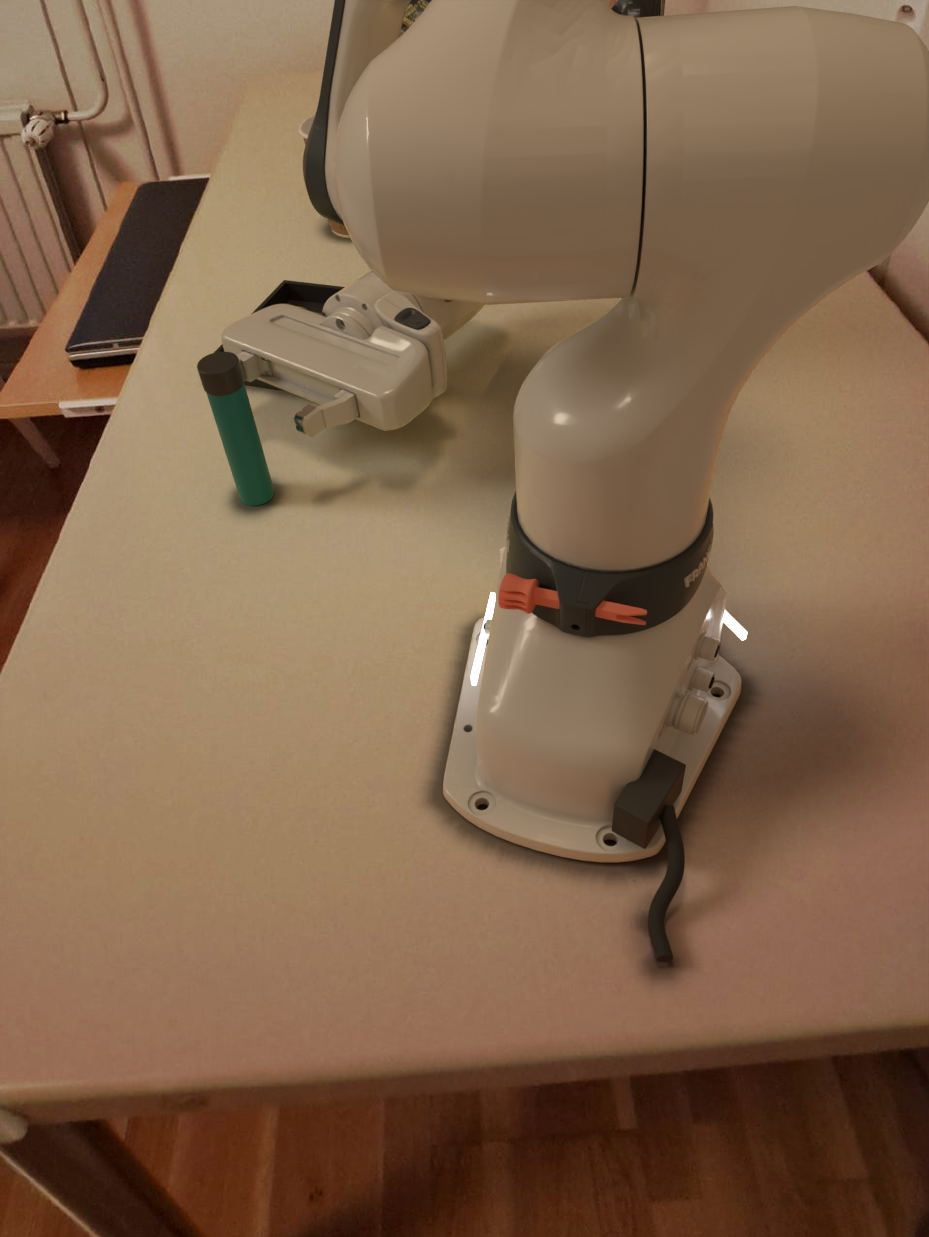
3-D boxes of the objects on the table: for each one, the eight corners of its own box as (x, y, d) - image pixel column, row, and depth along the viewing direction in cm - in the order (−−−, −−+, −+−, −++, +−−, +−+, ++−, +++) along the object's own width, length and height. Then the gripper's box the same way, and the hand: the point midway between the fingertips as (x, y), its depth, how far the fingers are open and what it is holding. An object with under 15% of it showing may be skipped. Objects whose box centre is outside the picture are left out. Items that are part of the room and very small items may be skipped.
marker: (264, 509, 79) (225, 376, 70) (232, 503, 80) (188, 370, 71) (282, 486, 81) (246, 353, 72) (250, 480, 82) (210, 348, 73)
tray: (322, 396, 91) (317, 373, 89) (215, 380, 94) (208, 357, 92) (387, 313, 101) (384, 291, 99) (288, 301, 104) (283, 279, 102)
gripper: (280, 272, 87) (166, 341, 79) (456, 330, 77) (344, 414, 70) (294, 334, 91) (187, 404, 84) (461, 395, 82) (357, 480, 75)
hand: (260, 409), depth 77 cm, fingers open, 8 cm apart
